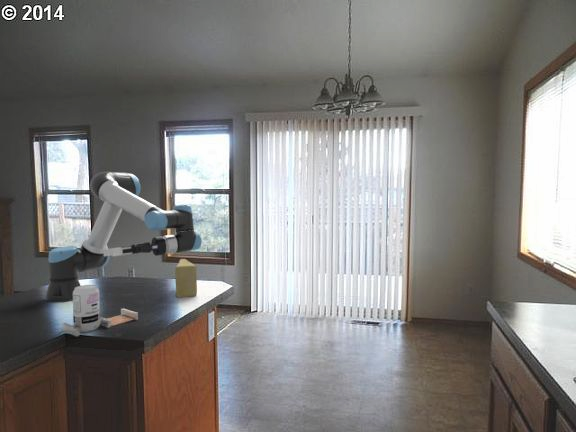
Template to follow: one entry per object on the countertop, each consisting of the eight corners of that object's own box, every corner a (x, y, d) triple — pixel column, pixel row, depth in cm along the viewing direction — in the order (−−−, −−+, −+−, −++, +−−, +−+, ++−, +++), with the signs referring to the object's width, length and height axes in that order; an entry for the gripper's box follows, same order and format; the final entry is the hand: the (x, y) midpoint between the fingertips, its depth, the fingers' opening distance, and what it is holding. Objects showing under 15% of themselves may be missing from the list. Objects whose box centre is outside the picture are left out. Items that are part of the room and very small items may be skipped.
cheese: (173, 287, 203) (173, 258, 202) (192, 286, 206) (192, 257, 205) (175, 298, 182) (175, 266, 181) (197, 296, 185) (196, 264, 184)
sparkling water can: (79, 325, 143) (78, 284, 142) (103, 324, 144) (102, 284, 143) (69, 333, 135) (68, 290, 134) (94, 332, 136) (93, 289, 135)
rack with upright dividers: (62, 330, 137) (62, 323, 137) (123, 314, 156) (123, 308, 156) (76, 336, 131) (76, 329, 131) (137, 319, 150) (137, 312, 150)
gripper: (176, 254, 149) (117, 263, 136) (154, 254, 169) (101, 262, 156) (174, 234, 149) (115, 242, 136) (152, 237, 169) (99, 243, 156)
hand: (107, 252), depth 146 cm, fingers open, 13 cm apart
